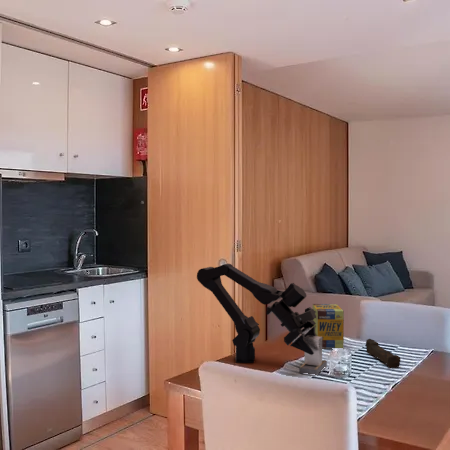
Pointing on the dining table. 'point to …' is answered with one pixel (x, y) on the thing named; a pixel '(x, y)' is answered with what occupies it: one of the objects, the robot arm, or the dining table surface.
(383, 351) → the dark brown rod
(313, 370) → the grey gold-striped flat block
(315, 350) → the pale upright block
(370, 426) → the dining table surface
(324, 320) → the protein box
